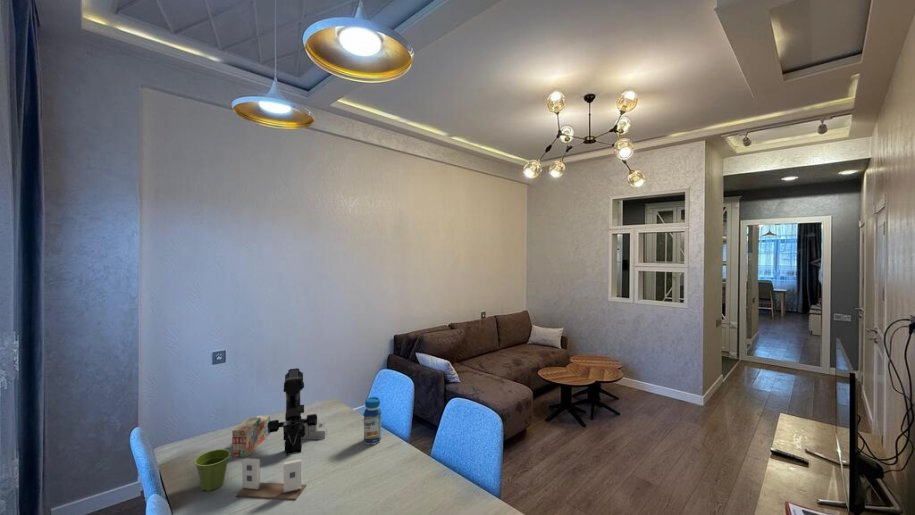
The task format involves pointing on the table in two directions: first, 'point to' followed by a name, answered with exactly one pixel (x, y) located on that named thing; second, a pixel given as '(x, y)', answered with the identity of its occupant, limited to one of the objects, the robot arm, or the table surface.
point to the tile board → (271, 492)
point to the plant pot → (212, 468)
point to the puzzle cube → (315, 429)
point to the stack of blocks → (249, 435)
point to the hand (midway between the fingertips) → (292, 444)
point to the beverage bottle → (372, 421)
